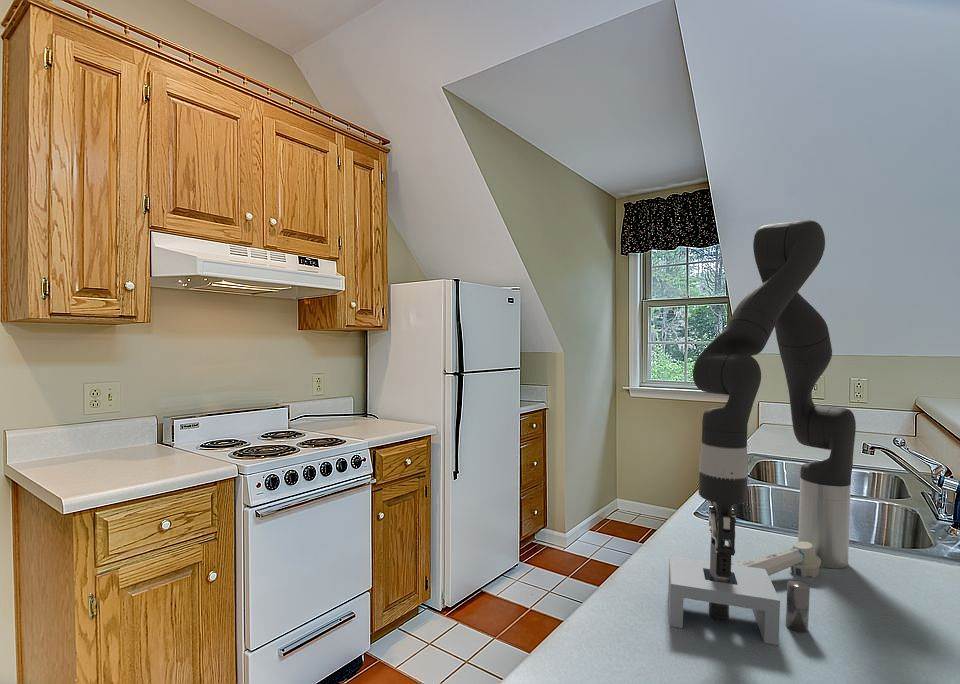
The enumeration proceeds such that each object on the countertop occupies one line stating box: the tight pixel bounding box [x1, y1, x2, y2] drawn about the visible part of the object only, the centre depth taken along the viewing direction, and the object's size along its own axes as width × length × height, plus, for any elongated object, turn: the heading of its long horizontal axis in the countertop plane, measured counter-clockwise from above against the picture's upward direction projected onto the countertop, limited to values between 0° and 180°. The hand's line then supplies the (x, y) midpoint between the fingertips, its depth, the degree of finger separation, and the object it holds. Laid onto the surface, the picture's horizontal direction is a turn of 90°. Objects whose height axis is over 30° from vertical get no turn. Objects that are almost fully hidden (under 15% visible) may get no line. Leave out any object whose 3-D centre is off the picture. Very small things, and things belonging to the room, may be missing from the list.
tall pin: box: [708, 543, 730, 623], centre depth 93 cm, size 3×3×12 cm
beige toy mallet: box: [730, 541, 821, 584], centre depth 108 cm, size 5×7×25 cm
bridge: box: [667, 555, 781, 646], centre depth 93 cm, size 12×16×7 cm
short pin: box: [785, 580, 811, 634], centre depth 90 cm, size 3×3×7 cm
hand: (720, 565), depth 93 cm, fingers open, 8 cm apart
